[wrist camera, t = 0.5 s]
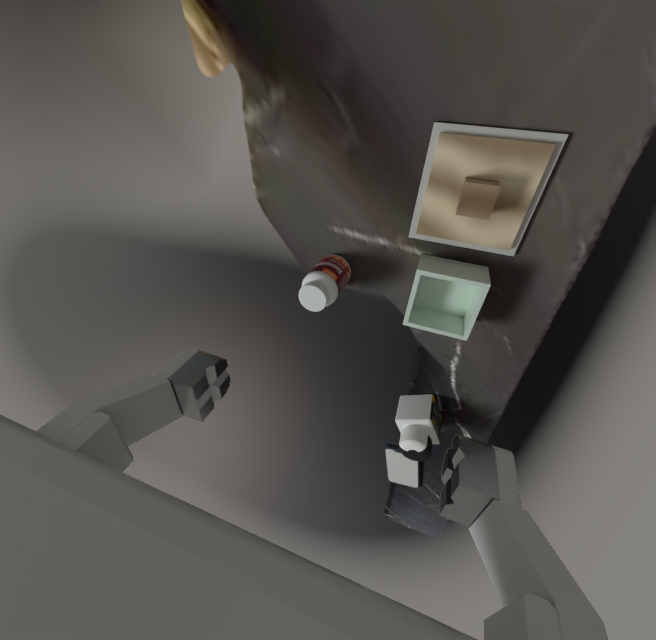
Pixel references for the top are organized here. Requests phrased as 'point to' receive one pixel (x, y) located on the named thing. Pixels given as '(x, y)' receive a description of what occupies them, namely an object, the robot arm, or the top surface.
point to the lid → (481, 188)
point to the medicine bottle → (418, 425)
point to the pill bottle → (324, 282)
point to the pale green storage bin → (447, 296)
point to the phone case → (401, 467)
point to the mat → (495, 133)
